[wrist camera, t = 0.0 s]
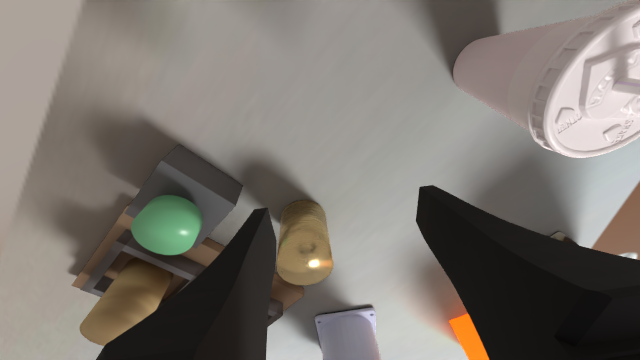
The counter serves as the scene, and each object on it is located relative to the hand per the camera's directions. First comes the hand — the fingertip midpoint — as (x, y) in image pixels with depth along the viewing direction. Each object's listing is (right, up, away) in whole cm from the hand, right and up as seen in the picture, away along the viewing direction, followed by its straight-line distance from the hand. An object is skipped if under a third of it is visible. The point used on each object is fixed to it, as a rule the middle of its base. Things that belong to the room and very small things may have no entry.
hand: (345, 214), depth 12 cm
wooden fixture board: (-15, -10, +16) cm, 24 cm away
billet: (-3, -2, +13) cm, 13 cm away
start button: (-12, -1, +7) cm, 14 cm away
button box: (-12, +1, +10) cm, 16 cm away
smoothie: (+11, +10, +7) cm, 16 cm away
